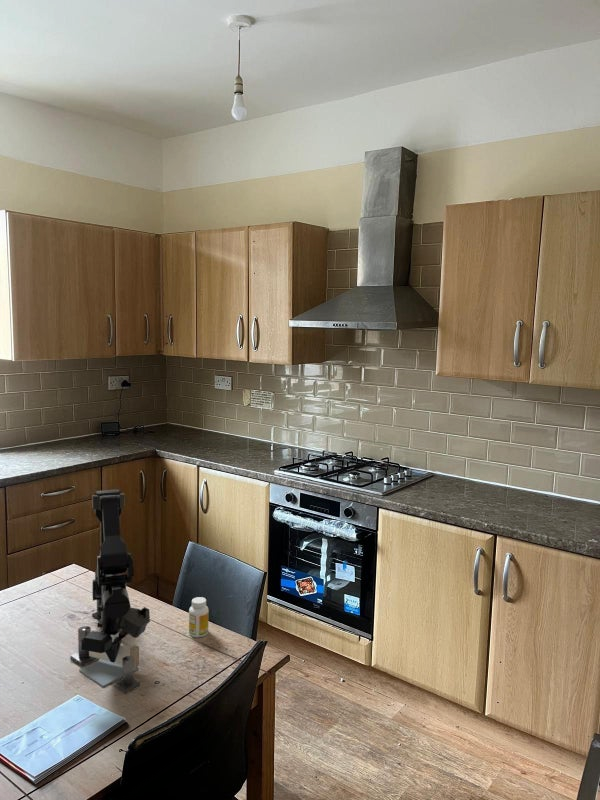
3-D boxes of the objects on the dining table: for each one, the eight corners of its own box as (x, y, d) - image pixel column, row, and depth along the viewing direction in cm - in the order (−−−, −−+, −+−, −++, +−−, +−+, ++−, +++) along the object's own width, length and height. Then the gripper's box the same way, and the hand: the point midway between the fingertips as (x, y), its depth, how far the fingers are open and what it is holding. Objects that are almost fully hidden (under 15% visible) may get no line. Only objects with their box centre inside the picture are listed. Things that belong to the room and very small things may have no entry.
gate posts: (70, 659, 154) (69, 629, 153) (87, 651, 158) (87, 622, 157) (123, 694, 140) (123, 662, 139) (141, 684, 144) (141, 653, 143)
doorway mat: (79, 671, 149) (79, 669, 149) (114, 654, 156) (114, 653, 156) (103, 687, 142) (103, 685, 142) (138, 669, 150) (138, 667, 150)
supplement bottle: (209, 628, 172) (209, 595, 170) (207, 638, 166) (207, 604, 165) (190, 627, 171) (190, 595, 170) (187, 637, 166) (187, 604, 165)
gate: (88, 656, 152) (88, 637, 152) (93, 652, 154) (92, 634, 153) (134, 669, 148) (134, 650, 147) (139, 665, 149) (139, 646, 149)
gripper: (123, 622, 135) (122, 688, 137) (162, 590, 153) (160, 649, 155) (79, 614, 138) (78, 679, 139) (122, 584, 156) (121, 642, 157)
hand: (112, 661), depth 148 cm, fingers closed
